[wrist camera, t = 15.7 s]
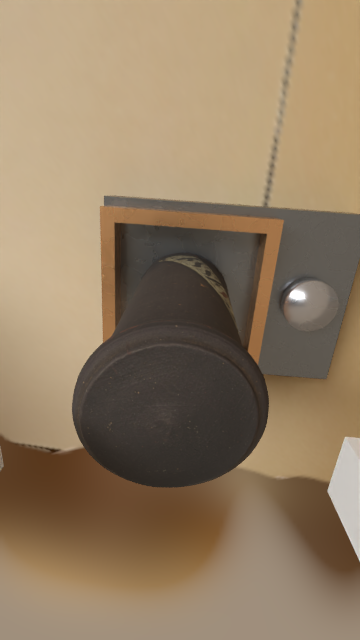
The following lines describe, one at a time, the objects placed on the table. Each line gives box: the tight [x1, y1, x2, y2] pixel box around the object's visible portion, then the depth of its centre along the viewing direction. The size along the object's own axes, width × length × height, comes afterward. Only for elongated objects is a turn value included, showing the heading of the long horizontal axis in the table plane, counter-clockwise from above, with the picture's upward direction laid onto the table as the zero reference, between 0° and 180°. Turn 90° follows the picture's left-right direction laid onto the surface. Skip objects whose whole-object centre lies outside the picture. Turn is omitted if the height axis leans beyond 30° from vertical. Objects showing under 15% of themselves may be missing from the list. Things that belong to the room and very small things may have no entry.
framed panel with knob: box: [100, 196, 360, 379], centre depth 32 cm, size 24×17×6 cm
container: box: [72, 253, 269, 487], centre depth 22 cm, size 9×9×20 cm
